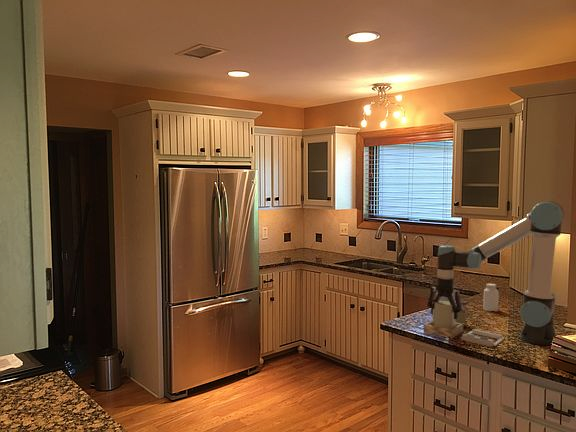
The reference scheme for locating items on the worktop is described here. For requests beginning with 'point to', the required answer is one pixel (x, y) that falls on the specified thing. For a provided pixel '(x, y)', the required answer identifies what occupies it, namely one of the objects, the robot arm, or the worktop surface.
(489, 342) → the white square frame
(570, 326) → the worktop surface
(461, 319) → the flower pot
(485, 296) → the pill bottle
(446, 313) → the can
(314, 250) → the worktop surface
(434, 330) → the open box
